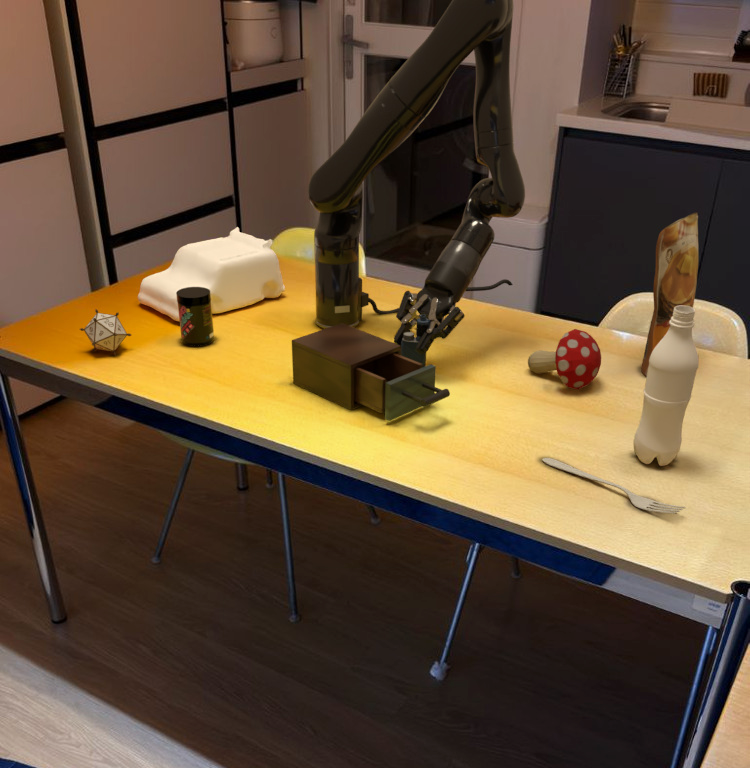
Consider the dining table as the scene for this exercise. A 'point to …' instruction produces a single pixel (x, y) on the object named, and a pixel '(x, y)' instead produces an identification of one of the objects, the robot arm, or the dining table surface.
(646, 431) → the water bottle
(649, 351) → the pancake mix bag
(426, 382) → the drawer
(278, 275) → the white toy car
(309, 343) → the cabinet
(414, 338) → the vaping device
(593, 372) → the decorative mushroom
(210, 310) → the supplement container
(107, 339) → the game die
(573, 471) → the fork
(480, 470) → the dining table surface
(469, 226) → the robot arm
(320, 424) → the dining table surface
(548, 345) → the dining table surface
